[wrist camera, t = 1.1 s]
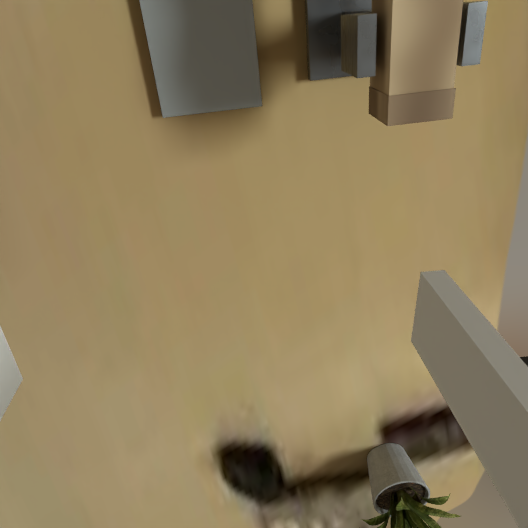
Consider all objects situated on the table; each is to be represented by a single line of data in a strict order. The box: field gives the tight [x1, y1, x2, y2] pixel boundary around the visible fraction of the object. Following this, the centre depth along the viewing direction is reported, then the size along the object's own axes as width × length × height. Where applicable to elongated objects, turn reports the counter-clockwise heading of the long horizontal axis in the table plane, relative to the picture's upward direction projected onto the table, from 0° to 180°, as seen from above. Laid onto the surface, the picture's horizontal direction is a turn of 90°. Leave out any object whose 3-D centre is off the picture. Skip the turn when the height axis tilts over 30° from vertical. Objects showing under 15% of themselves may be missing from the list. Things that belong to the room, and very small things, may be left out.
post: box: [305, 0, 488, 81], centre depth 29 cm, size 8×6×13 cm
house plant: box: [359, 443, 460, 528], centre depth 53 cm, size 14×14×16 cm
